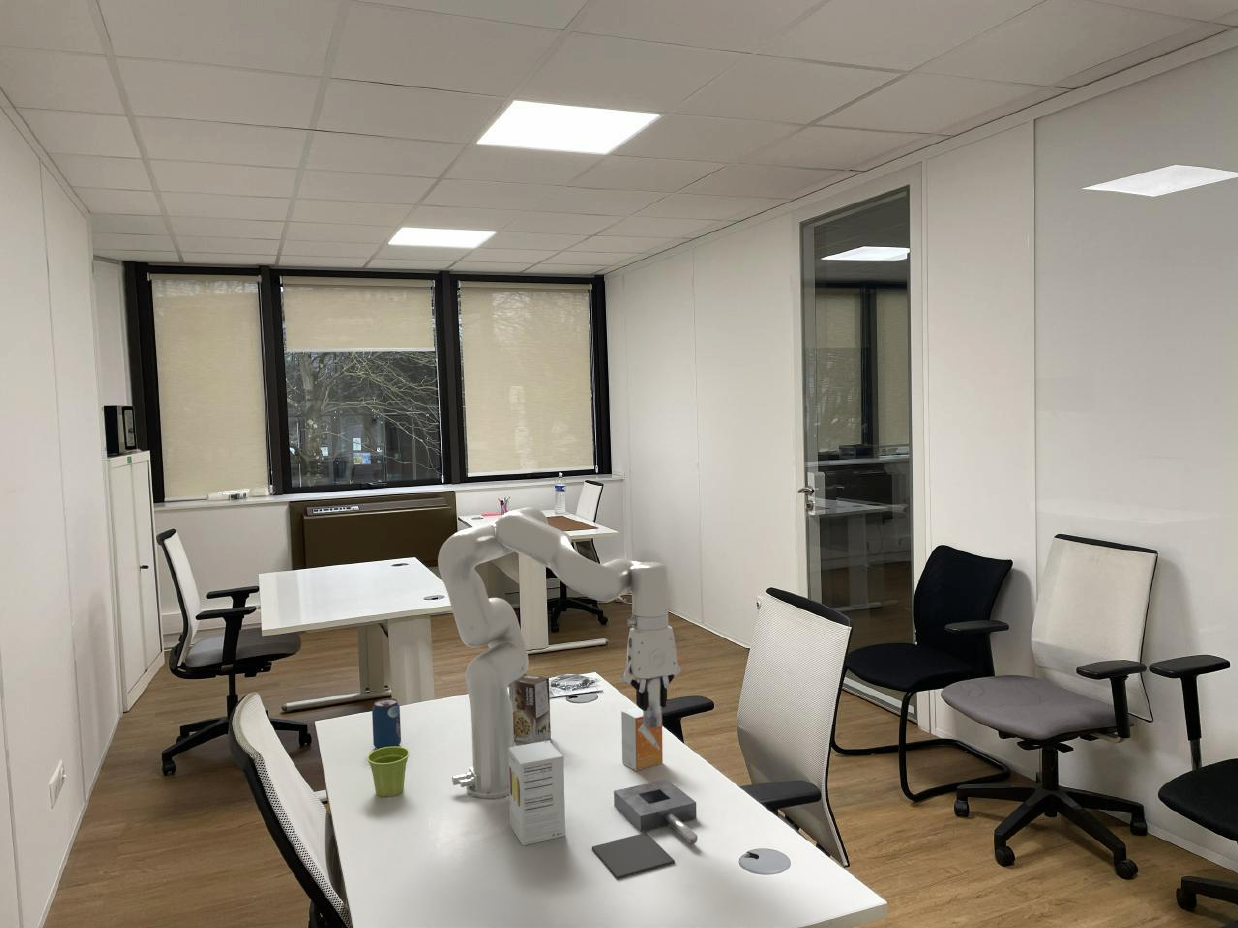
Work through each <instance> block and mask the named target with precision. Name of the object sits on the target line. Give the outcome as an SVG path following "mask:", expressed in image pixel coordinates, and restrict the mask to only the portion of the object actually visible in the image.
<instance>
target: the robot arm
mask: <svg viewBox="0 0 1238 928" xmlns="http://www.w3.org/2000/svg"><path fill="white" fill-rule="evenodd" d="M514 552H515V553H518V554H520V555H522V556H524V557H526V558H528V559H530V560H532V561H535V562H537V563H538V564H539V565H542V566H544V567H546V568H548V569H550V570H551V571H552V573H553V574H554V575H555V576H556V577H557V578H558V579H559V580H560V581H561V582H562V584H564V585H566V586H567V587H568V588H569V589H572V590H573V591H575V592H577V593H580V594H581V595H583V596H586V597H588V598H590V599H593V600H595V601H597V602H604V603H605V602H606V603H607V602H612V601H614V600H616V599H618V598H619V597H621V596H623V595H627V594H629V593H631V603H632V604H631V608H632V609H631V610H632V611H631V612H632V614H631V618H628V619H626V624H627V627H630V626H631V628H630V629H629V633H628V639H627V646H626V647H627V648H626V666H625V668H624V670H623V671H622V674H621V676H620V679H621V681H623V682H625V683H626V684H628V685H630V686H632V688H634V690H636V691H635V692H636V693H635V694H636V696H635V697H636V698H635V699H636V700H635V701H636V706H637V707H639V708H640V709H642V710H643V711H647V692H645V683H646V679H650V678H656V677H661V708H667V701H668V688H669V687H670V684H671V682H672V681H673V680H674V679H675V677H677V676H678V675H679V674H680V673H681V672H682V668H681V666H680V665H679V663H678V655H677V654H678V653H677V646H676V640H675V634H674V629H673V627H672V626H671V625H669V596H668V593H669V591H668V589H669V585H668V583H669V582H668V579H669V578H668V568H667V566H666V565H665V564H664V563H661V562H657V561H644V562H642V561H641V562H640V561H635V560H631V559H626V558H616V559H615V558H614V559H613V560H610V561H607V562H606V563H603V564H601V563H598V562H595V561H594V560H591V559H589V558H587V557H585V556H584V555H582V554H580V553H579V552H578V551H576V550H575V548H573V546H572V537H571V536H570V534H568V533H567V532H566V531H563V530H561V529H559V528H556V527H555V526H552V525H550V524H549V521H548V518H547V516H546V514H545V513H543V512H542V511H541V510H539V509H537V508H535V507H530V506H529V507H527V506H526V507H522V508H519V509H514V510H510V511H508V512H505V513H504V514H503V515H501V516H500V517H499V518H498V519H496V520H494V521H492V522H488V523H485V524H481V525H477V526H472V527H469V528H465V529H462V530H459V531H457V532H455V533H454V534H452V535H451V536H449V537H448V538H447V539H446V541H444V542H443V544H442V545H441V547H440V550H439V554H438V557H437V562H438V563H437V565H438V570H439V573H440V577H441V579H442V583H443V585H444V587H445V589H446V594H447V597H448V599H449V604H450V607H451V611H452V615H453V617H454V621H455V623H456V627H457V631H458V634H459V637H460V639H461V641H462V642H463V644H464V645H465V646H467V647H470V648H472V649H473V648H474V649H475V648H478V649H479V648H480V647H483V646H486V645H488V649H486V650H485V651H482V652H481V653H479V654H477V655H476V656H475V657H474V658H472V660H471V661H470V662H468V663H469V664H468V665H467V668H466V671H465V685H466V689H467V692H468V693H467V694H468V698H469V708H470V724H471V725H470V726H471V749H472V750H471V751H472V755H471V756H472V766H469V769H468V770H469V771H467V772H465V773H464V774H458V775H453V776H452V777H451V781H452V786H455V785H456V786H457V785H460V787H461V788H466V791H467V793H468V794H470V795H471V796H473V797H475V798H480V799H488V800H489V799H490V800H491V799H498V798H500V799H501V798H505V797H507V796H510V793H509V757H508V748H510V747H514V746H515V740H514V729H513V708H512V703H511V700H510V697H509V690H508V689H509V685H511V684H512V683H514V682H515V681H517V680H518V679H520V678H521V677H522V676H523V675H524V674H527V671H528V669H529V663H530V662H529V655H528V654H529V653H528V650H527V647H526V643H525V640H524V636H523V632H522V629H521V626H520V623H519V619H518V616H517V615H516V612H515V610H514V608H513V607H512V606H511V604H510V603H509V602H508V601H507V600H505V599H503V598H499V597H490V598H489V595H488V593H487V590H486V586H485V583H484V581H483V579H482V577H481V576H480V574H478V572H477V570H475V568H476V566H478V565H480V564H483V563H486V562H490V561H493V560H497V559H499V558H502V557H503V556H506V555H509V554H511V553H514ZM632 676H633V677H634V678H632Z"/></svg>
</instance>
